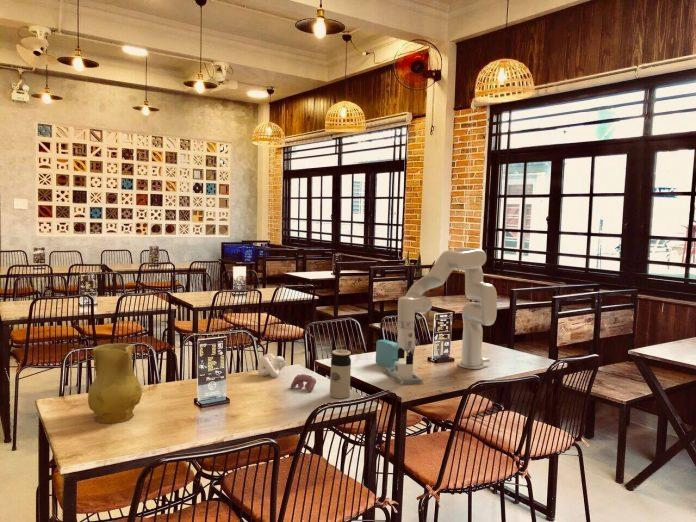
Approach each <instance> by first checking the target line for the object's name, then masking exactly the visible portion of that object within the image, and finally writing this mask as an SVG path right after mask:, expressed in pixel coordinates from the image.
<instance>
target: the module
mask: <svg viewBox="0 0 696 522" xmlns="http://www.w3.org/2000/svg"><path fill="white" fill-rule="evenodd" d="M413 372H414V363H413V364H409V365H407V364H406V360H399V361H395V365H394V372H393V373H395V374H396V375H397V376H398V377H400V378H401V379H414V378H413Z"/></svg>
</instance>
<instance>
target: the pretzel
mask: <svg viewBox="0 0 696 522" xmlns="http://www.w3.org/2000/svg"><path fill="white" fill-rule="evenodd" d="M284 367H285V359H284V357H283V356H280V355H278V356H275V355H274V354H272V353H266V354H264V355H263V356H262V357H260V359H259V361H258V363H257V373H258V375H259V376H261V377H267V376H269V375H270V377H272V378H275V379H276V378H278V377H279V376H280V371H282V369H284Z"/></svg>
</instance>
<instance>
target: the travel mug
mask: <svg viewBox="0 0 696 522" xmlns="http://www.w3.org/2000/svg"><path fill="white" fill-rule="evenodd" d="M331 353H332V357H331V359H330V375H329V376H330V378H329V379H330V381H329V396H330V397H332V398H333V399H339V398H341V399H342V398H343V399H346V398H348V397H350V396H351V395H350V394H351V393H350V392H351V373H352V372H351V371H352V368H351V367H352V359H351V354H352V353H351V351H350V350H346V349H334V350H332V352H331ZM341 399H340V400H341Z"/></svg>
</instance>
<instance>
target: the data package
mask: <svg viewBox="0 0 696 522" xmlns="http://www.w3.org/2000/svg"><path fill="white" fill-rule="evenodd" d="M397 343H398V342H395V341H391V340H388V339H378V340H377V341H376V345H375V363H376V364H377V365H379V366H381V367H394V365H395V361H400V359H398V349H397V348H398V345H397Z"/></svg>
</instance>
